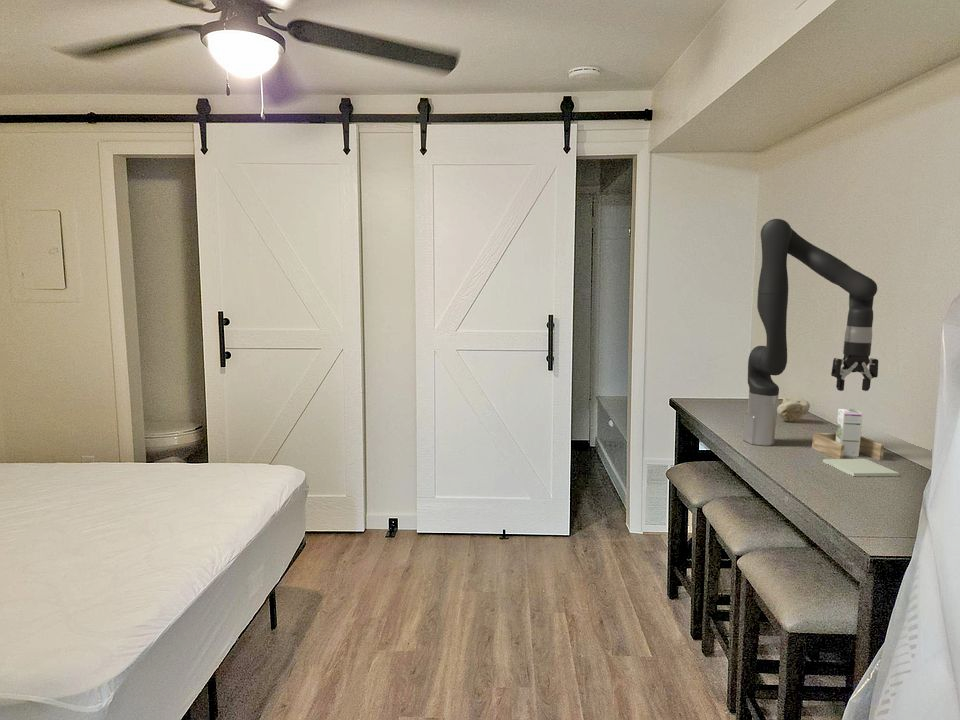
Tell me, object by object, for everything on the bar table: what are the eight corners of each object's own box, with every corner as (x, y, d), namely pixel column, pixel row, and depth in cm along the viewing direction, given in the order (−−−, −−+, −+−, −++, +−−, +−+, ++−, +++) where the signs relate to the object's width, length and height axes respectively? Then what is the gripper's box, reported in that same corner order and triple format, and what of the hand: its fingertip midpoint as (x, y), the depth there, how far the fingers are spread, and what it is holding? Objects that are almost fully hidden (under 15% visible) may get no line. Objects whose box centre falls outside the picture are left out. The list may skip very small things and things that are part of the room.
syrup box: (859, 457, 205) (864, 412, 203) (839, 455, 206) (843, 411, 204) (852, 452, 211) (857, 409, 209) (833, 450, 212) (837, 407, 210)
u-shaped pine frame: (839, 460, 201) (841, 444, 200) (811, 447, 215) (813, 433, 214) (882, 460, 202) (884, 444, 202) (851, 447, 216) (853, 433, 216)
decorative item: (803, 420, 256) (805, 395, 255) (811, 425, 248) (814, 400, 246) (771, 418, 258) (773, 394, 256) (778, 423, 249) (781, 398, 248)
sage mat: (853, 476, 185) (853, 473, 184) (823, 462, 198) (823, 459, 198) (898, 476, 186) (898, 472, 186) (865, 461, 200) (865, 458, 200)
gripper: (844, 341, 199) (839, 392, 201) (887, 342, 201) (881, 392, 203) (829, 339, 206) (824, 388, 209) (870, 339, 208) (865, 388, 210)
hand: (852, 390), depth 206 cm, fingers open, 8 cm apart
